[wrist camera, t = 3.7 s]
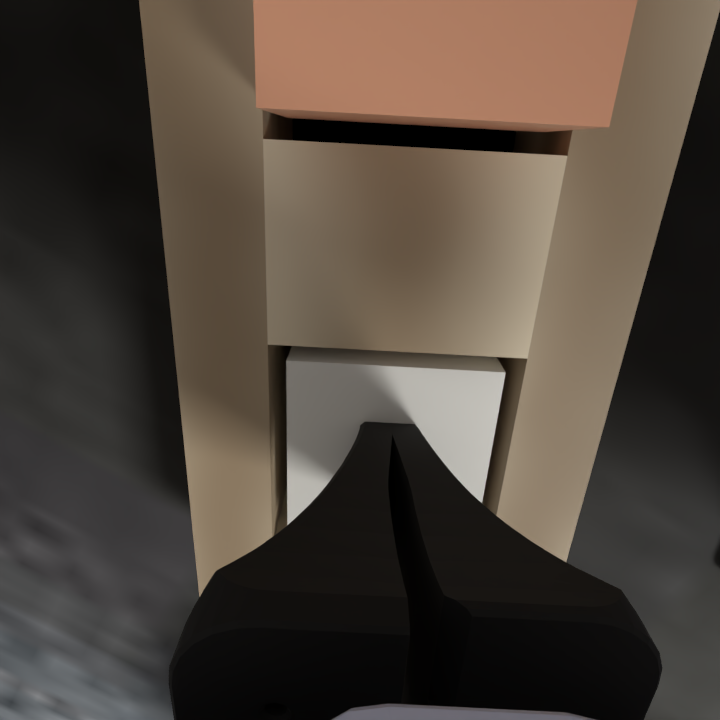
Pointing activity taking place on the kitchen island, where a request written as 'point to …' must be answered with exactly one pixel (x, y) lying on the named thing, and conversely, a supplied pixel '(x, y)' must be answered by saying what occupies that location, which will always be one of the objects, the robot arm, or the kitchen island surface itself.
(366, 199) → the button panel
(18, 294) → the kitchen island surface
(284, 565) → the robot arm
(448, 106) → the terracotta button
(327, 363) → the grey button
